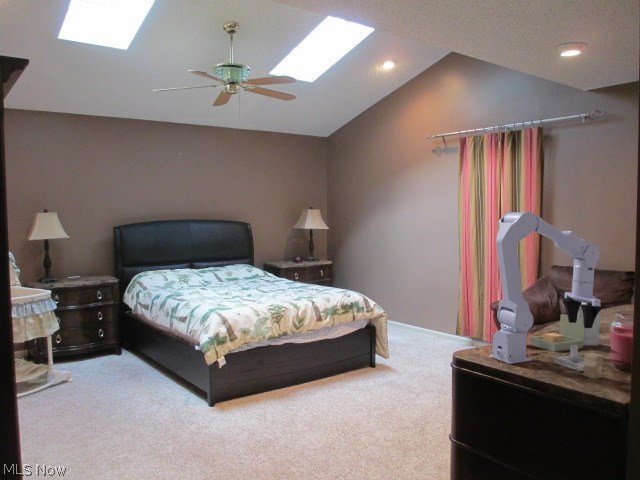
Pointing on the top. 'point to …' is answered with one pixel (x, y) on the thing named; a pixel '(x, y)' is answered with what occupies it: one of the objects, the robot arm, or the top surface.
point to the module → (553, 337)
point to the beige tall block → (592, 365)
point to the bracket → (571, 360)
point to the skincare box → (590, 329)
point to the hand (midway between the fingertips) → (579, 325)
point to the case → (566, 329)
